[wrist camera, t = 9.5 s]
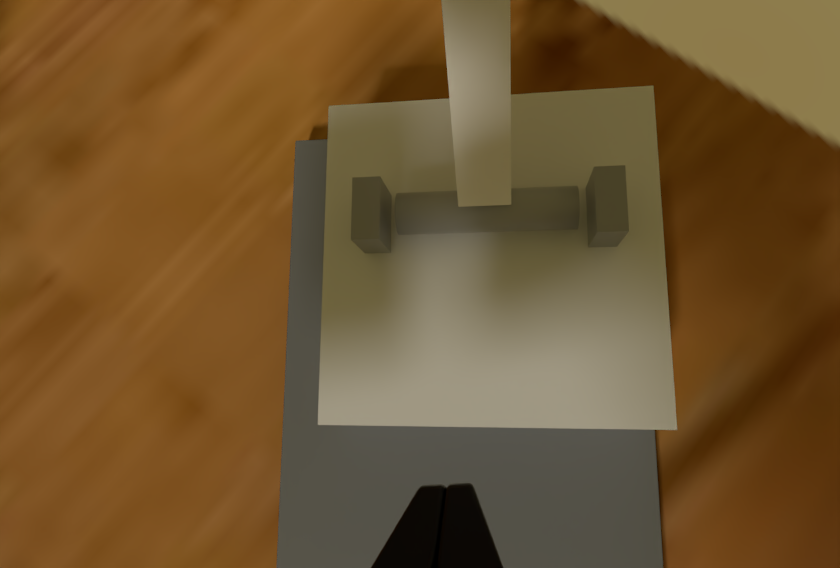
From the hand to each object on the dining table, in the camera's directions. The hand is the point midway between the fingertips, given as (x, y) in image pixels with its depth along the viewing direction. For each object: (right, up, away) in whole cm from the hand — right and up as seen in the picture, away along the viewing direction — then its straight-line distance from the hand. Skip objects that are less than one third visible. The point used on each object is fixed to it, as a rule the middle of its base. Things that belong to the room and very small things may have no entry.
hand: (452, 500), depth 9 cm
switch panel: (+1, +1, +11) cm, 11 cm away
